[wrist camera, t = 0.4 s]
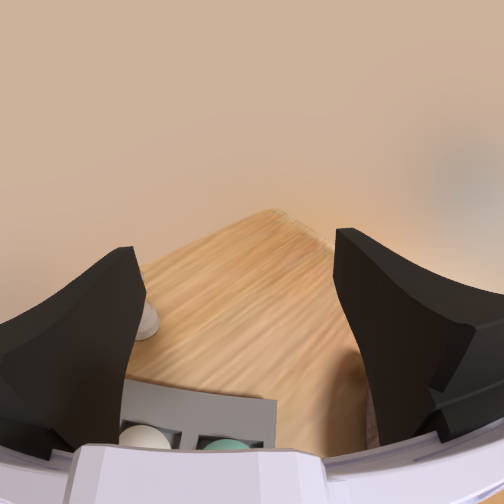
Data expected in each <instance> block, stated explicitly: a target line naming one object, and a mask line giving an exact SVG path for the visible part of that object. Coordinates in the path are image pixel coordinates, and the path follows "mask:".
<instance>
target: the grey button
mask: <svg viewBox="0 0 504 504" xmlns="http://www.w3.org/2000/svg"><path fill="white" fill-rule="evenodd" d="M119 445H125V446H134V447H146V448H160V449H172V448H171V446H170V444H169V442H168V440H167V439H166V437H165V436H164V435H163V434H162V433H161V432H160V431H159V430H157V429H155V428H153V427H150V426H146V425H137V426H133V427H130V428H128V429H126V430H125V431H124V432H122V433H121V435H120V436H119Z"/></svg>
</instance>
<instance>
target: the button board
mask: <svg viewBox="0 0 504 504" xmlns="http://www.w3.org/2000/svg"><path fill="white" fill-rule="evenodd" d="M276 416H277V400H269V399H256V398H245V397H235V396H226V395H218V394H210V393H203V392H196V391H189V390H183V389H177V388H171V387H165V386H160V385H154V384H149V383H144V382H139V381H134V380H130V379H125V380H124V386H123V393H122V403H121V413H120V431H119V436H120V435H121V433H122V432H124V431H125V430H126V429H128V428H130V427H133V426H137V425H146V426H150V427H153V428H155V429H157V430H159V431H160V432H161V433H162V434H163V435H164V436H165V437H166V439H167V440H168V442H169V444H170V446H171V448H172V449H181V450H203V449H204V448H205V447H206V446H207V445H209V444H210V443H212V442H215V441H217V440H222V439H232V440H236V441H239V442H242V443H244V444H245V445H247V446H248V447H249V448H250V449H251V448H275V437H276Z"/></svg>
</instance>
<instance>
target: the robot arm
mask: <svg viewBox="0 0 504 504" xmlns="http://www.w3.org/2000/svg"><path fill="white" fill-rule="evenodd" d="M333 280H334V284H335V287H336V291H337V295H338V298H339V301H340V303H341V306H342V308H343V311H344V313H345V315H346V318H347V320H348V323H349V325H350V327H351V330H352V332H353V334H354V337H355V339H356V342H357V344H358V347H359V349H360V352H361V355H362V358H363V362H364V366H365V370H366V374H367V377H368V382H369V386H370V391H371V395H372V400H373V405H374V410H375V416H376V422H377V428H378V436H379V444H380V447H378V448H374V449H369V450H365V451H360V452H356V453H351V454H346V455H340V456H335V457H329V458H323V459H320V457H318V456H316V455H314V454H312V453H307V452H303V451H299V450H295V449H291V448H251V449H230V450H181V449H160V448H146V447H134V446H125V445H119V431H120V413H121V403H122V393H123V386H124V380H125V373H126V369H127V365H128V361H129V358H130V354H131V351H132V348H133V344H134V341H135V338H136V335H137V332H138V328H139V325H140V322H141V318H142V315H143V310H144V304H145V298H146V289H145V286H144V283H143V279H142V276H141V273H140V269H139V266H138V263H137V259H136V256H135V253H134V249H133V246H130V247H120V248H117V249H115V250H113V251H111V252H110V253H108V254H107V255H106V256H104V257H103V258H102V259H100V260H99V261H98V262H97V263H95V264H94V265H93V266H91V267H90V268H89V269H88V270H86V271H85V272H84V273H82V274H81V275H80V276H79V277H77V278H76V279H75V280H73V281H72V282H70V283H69V284H68V285H67V286H65V287H64V288H63V289H61V290H60V291H58V292H57V293H56V294H54V295H53V296H51V297H50V298H48V299H46V300H45V301H43V302H42V303H40V304H38V305H37V306H35V307H33V308H31V309H30V310H28V311H26V312H24V313H22V314H20V315H19V316H17V317H15V318H13V319H11V320H9V321H6V322H4V323H2V324H0V504H478V503H480V502H482V501H483V500H485V499H487V498H489V497H491V496H492V495H494V494H496V493H497V492H499V491H501V490H503V489H504V295H503V294H498V293H493V292H489V291H485V290H481V289H477V288H474V287H471V286H467V285H464V284H461V283H458V282H455V281H453V280H450V279H447V278H445V277H442V276H440V275H438V274H435V273H433V272H431V271H429V270H427V269H424V268H422V267H420V266H418V265H416V264H414V263H412V262H411V261H408V260H407V259H405V258H403V257H402V256H400V255H398V254H396V253H395V252H393V251H391V250H390V249H388V248H386V247H385V246H383V245H381V244H380V243H378V242H377V241H375V240H373V239H372V238H370V237H369V236H367V235H365V234H364V233H362V232H360V231H358V230H356V229H354V228H341V229H336V240H335V255H334V268H333Z"/></svg>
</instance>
